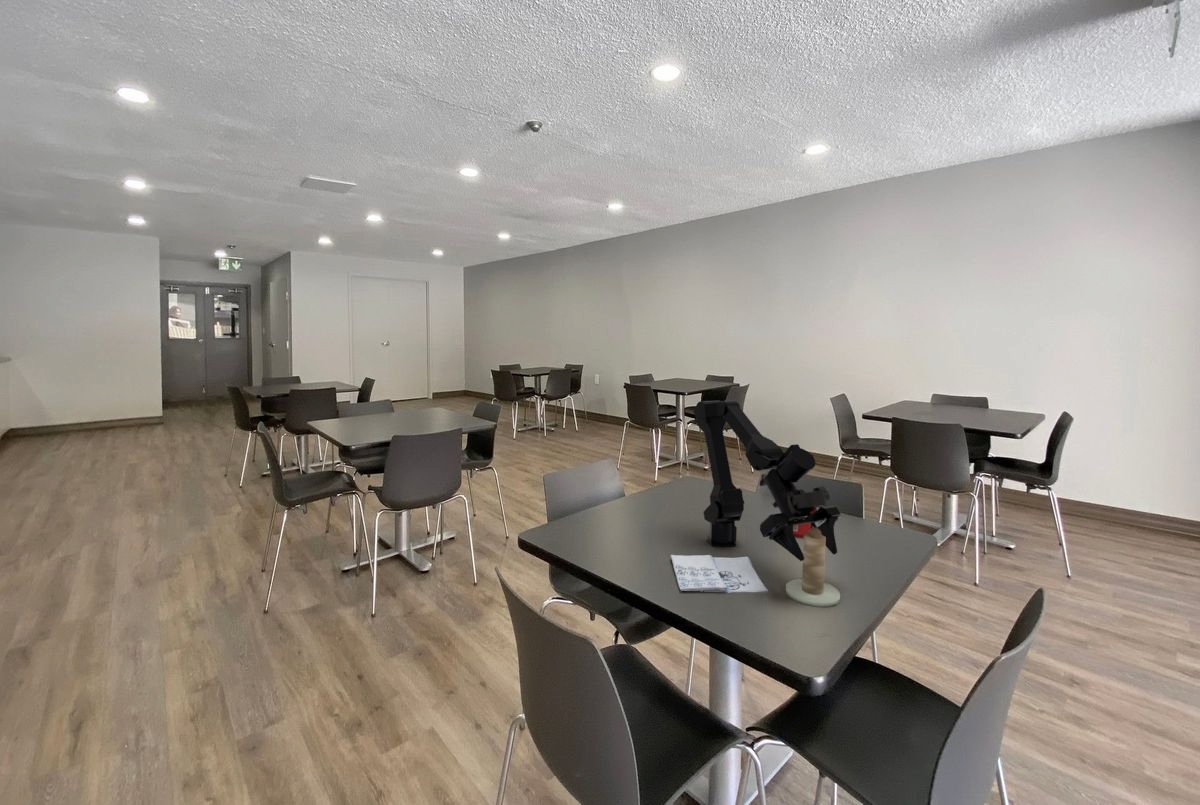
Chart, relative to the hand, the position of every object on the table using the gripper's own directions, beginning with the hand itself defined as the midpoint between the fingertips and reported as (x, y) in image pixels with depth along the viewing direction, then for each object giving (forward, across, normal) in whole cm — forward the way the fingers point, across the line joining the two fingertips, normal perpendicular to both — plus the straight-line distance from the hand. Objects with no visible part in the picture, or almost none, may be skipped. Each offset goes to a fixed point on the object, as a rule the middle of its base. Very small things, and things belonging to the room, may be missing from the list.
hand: (819, 556), depth 115 cm
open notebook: (-5, -13, +19) cm, 24 cm away
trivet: (+5, 0, +7) cm, 9 cm away
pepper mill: (+5, 0, +7) cm, 8 cm away
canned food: (-16, +25, +29) cm, 41 cm away
